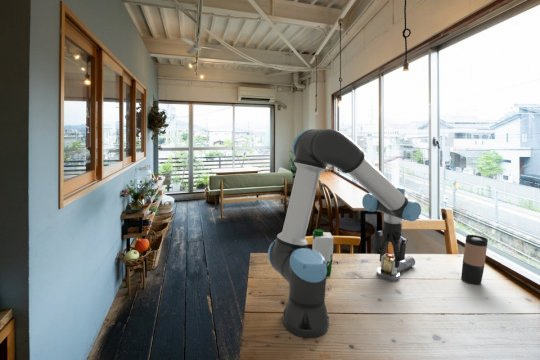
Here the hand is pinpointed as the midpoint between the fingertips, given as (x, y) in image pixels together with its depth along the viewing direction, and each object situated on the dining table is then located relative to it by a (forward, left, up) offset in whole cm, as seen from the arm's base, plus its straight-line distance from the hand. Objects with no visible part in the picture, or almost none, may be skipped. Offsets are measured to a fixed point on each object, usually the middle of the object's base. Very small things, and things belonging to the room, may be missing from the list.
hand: (388, 271), depth 124 cm
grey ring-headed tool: (+7, 0, -2) cm, 8 cm away
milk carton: (-23, +19, -3) cm, 30 cm away
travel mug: (+27, -23, -3) cm, 35 cm away
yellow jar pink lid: (0, 0, -2) cm, 2 cm away
